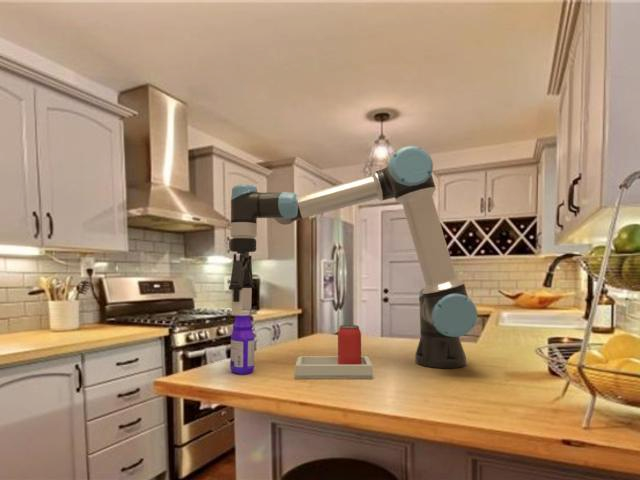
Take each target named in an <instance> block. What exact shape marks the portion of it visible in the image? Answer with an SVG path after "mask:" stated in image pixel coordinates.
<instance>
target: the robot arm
mask: <svg viewBox="0 0 640 480" xmlns="http://www.w3.org/2000/svg"><path fill="white" fill-rule="evenodd" d="M433 168H434V163H433V160H432V157H431V155H430V153H428V151H426V150H425V149H423V148H421V147H420V146H417V145H407V146H403V147H401V148H399V149H398V150H397V151H395V153H393V154H392V156H391V157H390V158H389V161H388V164H387V166H386V167H384V168H382V169H379V170H376V171H373V173H372V175H370V176H367V177H362V178H359V179H355V180H351V181H347V182H343V183H340V184H336V185H333V186H329V187H326V188H322V189H318V190H314V191H311V192H307V193H303V194H300V195H297V194H296V193H295V192H288V191H282V192H278V191H277V192H259V190H258V188H257V186H255V185H254V184H253V185H252V184H237V185H234V186H233V187H232V188H231V195H230V198H231V199H230V226H229V227H228V230H229V231H230V237H231V239H230V240H229V250H230V252H233V257H232V258H233V262H232V267H231V268H232V270H231V277H230V284H229V286H228V290H231V315H236V314H242V310H249V311H251V310H252V298H253V297H252V294H253V292H252V291H253V290H252V288H253V289H254V288H255V284H254V280H253V279H254V278H253V269H252V268H253V267H252V259H253V258H252V255H250V253H255V252H256V251H257V239H256V238H257V235H258V234H257V233H258V232H257V231H258V230H257V229H258V223H257V222H258V221H257V219H274V220H275V221H276V222H277V223H278V224H281V225H290V224H292V223H294V222H295V221H296V222H297V221H300V220H302V219H303V220H304V219H307V218H310V217H313V216H316V215H321V214H325V213H328V212H332V211H336V210H340V209H344V208H347V207H351V206H355V205H358V204H363V203H366V202H369V201H370V202H371V201H373V200H376V199H377V200H379V201H381V202H383V201H386V200H390V199H395V201H396V203H399V204H400V205H402V206H403V210H404V214H405V217H406V221H407V225H408V228H409V232H410V235H411V239H412V243H413V246H414V249H415V252H416V256H417V259H418V262H419V266H420V269H421V272H422V277H423V280H424V284H425V286H424V288H421V289H420V291H419V297H418V301H419V325H420V326H419V327H420V331H419V332H420V338H419V341H418V345H417V347H416V350H415V357H414V358H415V359H414V360H415V361H414V362H415V363H416V364H417V365H420V366H424V367H429V368H437V369H457V368H458V369H459V368H463V367H466V365H467V357H466V356H467V355H466V353H465V350H464V348H463V344H462V342H461V339H460V337H463V336H466V335H468V334H469V333H470V332H471V331H472V330H473V329H474V328H475V325H476V324H477V321H478V310H477V307H476V304H475V303H474V301H473V300H472V299H471V298H470V297H469V295H468V293H467V289H466V286H465V285H466V284H465V282H464V281H462V280H461V279H459V278H457V275H456V272H455V269H454V266H453V262H452V259H451V255H450V251H449V249H448V246H447V245H448V244H447V241H446V238H445V235H444V232H443V227H442V225H441V222H440V219H439V215H438V210H437V208H436V204H435V200H434V197H433V196H434V194H435V192H436V189H437V188H436V185H435V181H434V177H433V175H432V173H433V170H434V169H433Z"/></svg>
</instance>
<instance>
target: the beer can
mask: <svg viewBox="0 0 640 480" xmlns="http://www.w3.org/2000/svg"><path fill="white" fill-rule="evenodd" d="M337 356H338V365H361V356H362V333H361V329H360V326H359V325H356V324H342V325H339V329H338V332H337Z"/></svg>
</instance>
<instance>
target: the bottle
mask: <svg viewBox="0 0 640 480" xmlns="http://www.w3.org/2000/svg"><path fill="white" fill-rule="evenodd" d="M253 327H254V325H253V323H252V319H251V310H242V314H235V320H234V323H233V325H232V329H233V331H231V332H232V333H231V335H230V357H229V358H230V359H229V360H230V361H229V362H230V363H229V364H230V371H231V372H232V373H235V374H239V375H248V374H251V373H253V372H254V369H255V339H256V338H255V337H256V336H255V333H254V331H253Z"/></svg>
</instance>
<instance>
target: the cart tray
mask: <svg viewBox="0 0 640 480" xmlns="http://www.w3.org/2000/svg"><path fill="white" fill-rule="evenodd" d="M294 369H295V371H294V372H295V373H294V376H295V377H294V379H295V380H373V365H372V362H371V360H370V358H369V357H368V355H361V365H338V355H319V356H318V355H310V356H309V355H303V356H302V355H299V356H298V357H297V360H296V363H295V367H294Z"/></svg>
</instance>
